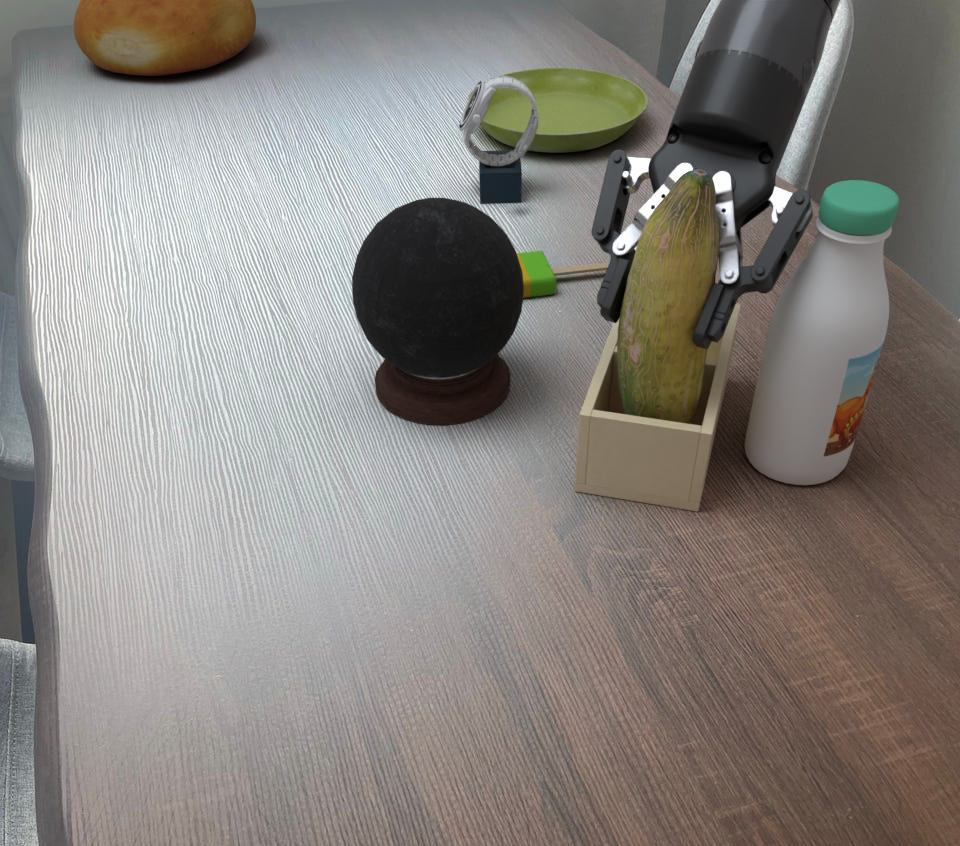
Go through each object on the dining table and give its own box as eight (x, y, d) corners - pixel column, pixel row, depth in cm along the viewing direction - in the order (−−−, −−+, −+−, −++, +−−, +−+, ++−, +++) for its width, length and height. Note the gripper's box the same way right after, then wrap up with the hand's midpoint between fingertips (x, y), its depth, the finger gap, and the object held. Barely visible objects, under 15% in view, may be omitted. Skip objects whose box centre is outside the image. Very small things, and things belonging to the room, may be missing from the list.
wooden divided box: (727, 378, 85) (741, 303, 80) (698, 512, 73) (712, 434, 68) (618, 363, 86) (625, 289, 81) (574, 491, 75) (579, 414, 70)
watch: (461, 181, 111) (457, 70, 103) (535, 179, 111) (537, 68, 103) (461, 204, 107) (457, 91, 99) (538, 202, 107) (540, 89, 99)
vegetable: (682, 477, 74) (729, 203, 59) (597, 460, 75) (622, 189, 60) (698, 428, 77) (746, 159, 62) (617, 413, 79) (645, 146, 64)
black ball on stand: (490, 446, 79) (488, 262, 68) (336, 414, 82) (310, 233, 71) (543, 357, 87) (548, 180, 76) (401, 331, 91) (386, 157, 79)
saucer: (681, 134, 118) (685, 104, 116) (537, 180, 111) (538, 150, 108) (571, 81, 130) (572, 53, 127) (434, 120, 122) (433, 91, 120)
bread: (98, 31, 146) (76, -51, 139) (263, 22, 147) (250, -60, 140) (73, 91, 131) (47, 2, 123) (257, 80, 132) (242, -9, 125)
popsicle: (447, 277, 97) (446, 258, 95) (600, 261, 98) (602, 242, 97) (457, 307, 93) (456, 288, 92) (616, 289, 95) (618, 270, 93)
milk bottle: (781, 500, 74) (849, 232, 59) (723, 441, 79) (772, 180, 64) (868, 471, 76) (955, 206, 61) (806, 416, 81) (873, 157, 66)
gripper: (863, 128, 66) (763, 376, 69) (659, 88, 72) (572, 320, 74) (859, 66, 59) (748, 344, 62) (634, 26, 65) (538, 285, 67)
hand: (653, 330), depth 68 cm, fingers closed on vegetable, 6 cm apart
